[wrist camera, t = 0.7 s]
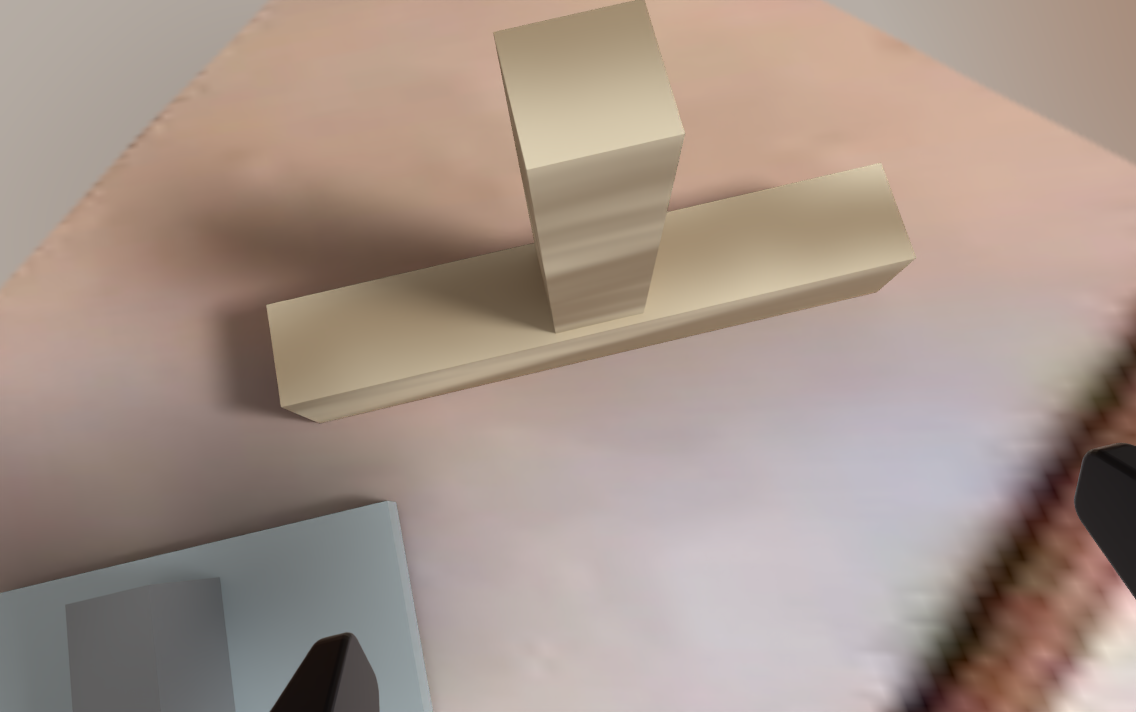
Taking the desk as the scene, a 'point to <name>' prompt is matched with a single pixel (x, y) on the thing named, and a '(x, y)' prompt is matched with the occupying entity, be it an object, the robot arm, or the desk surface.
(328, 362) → the t bar
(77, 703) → the stand
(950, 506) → the desk surface
